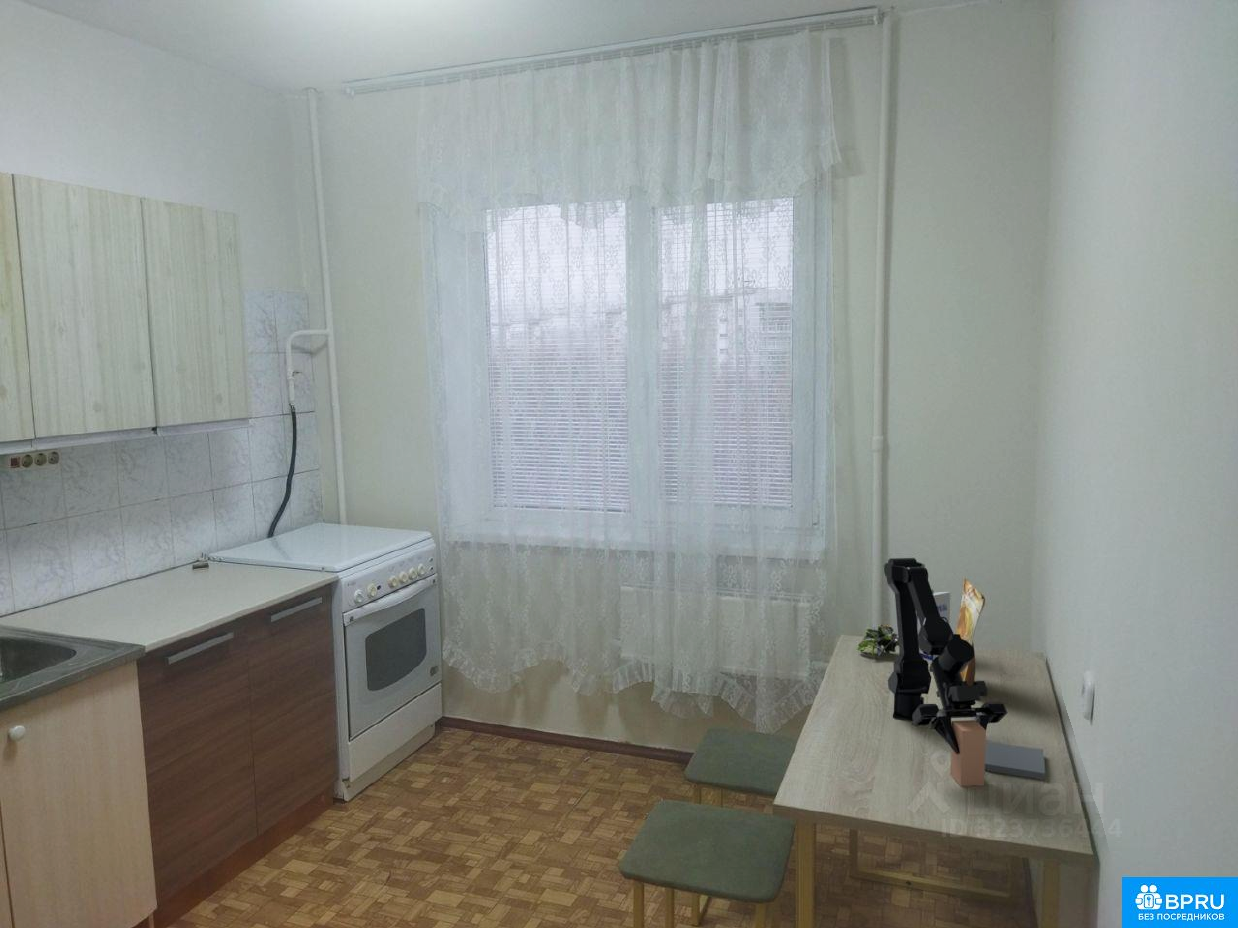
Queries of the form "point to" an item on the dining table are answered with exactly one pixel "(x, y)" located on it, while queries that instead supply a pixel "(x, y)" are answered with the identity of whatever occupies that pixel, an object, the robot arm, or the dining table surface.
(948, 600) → the milk carton
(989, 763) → the slate board
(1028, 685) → the dining table surface
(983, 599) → the pancake mix bag
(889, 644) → the green leafy clump
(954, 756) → the terracotta block
